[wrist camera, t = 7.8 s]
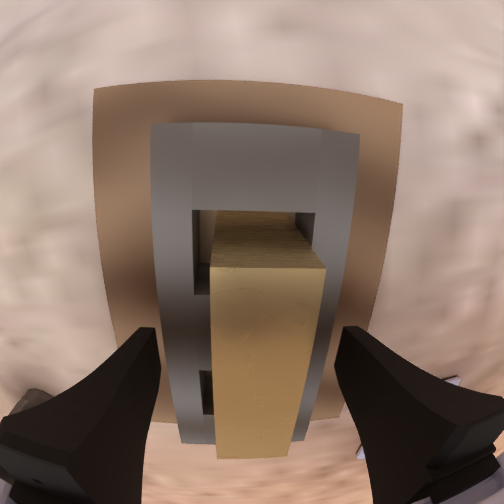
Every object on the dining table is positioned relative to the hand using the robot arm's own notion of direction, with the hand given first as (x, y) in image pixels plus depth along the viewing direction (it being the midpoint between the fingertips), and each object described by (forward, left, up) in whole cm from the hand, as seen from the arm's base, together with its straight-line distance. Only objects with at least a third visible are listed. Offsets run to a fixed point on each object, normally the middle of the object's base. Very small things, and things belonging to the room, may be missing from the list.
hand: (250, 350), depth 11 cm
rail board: (0, 0, -5) cm, 5 cm away
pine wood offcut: (0, 0, -4) cm, 4 cm away
